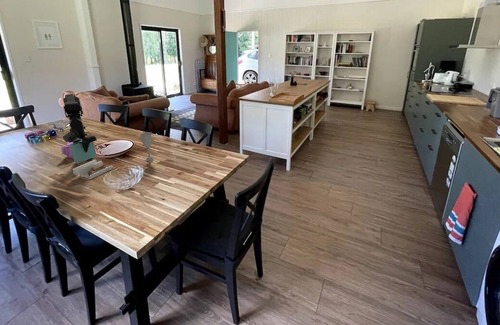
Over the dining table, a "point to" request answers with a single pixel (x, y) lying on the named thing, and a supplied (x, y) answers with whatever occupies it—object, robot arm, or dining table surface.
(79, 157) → the teal flat block
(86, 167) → the rack
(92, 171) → the offcut stack
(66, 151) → the teapot
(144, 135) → the chalice
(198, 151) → the dining table surface
